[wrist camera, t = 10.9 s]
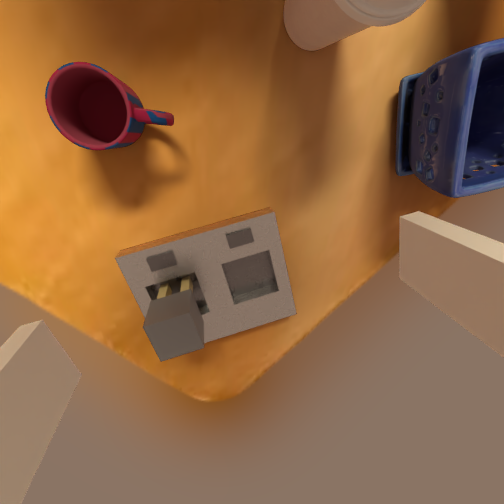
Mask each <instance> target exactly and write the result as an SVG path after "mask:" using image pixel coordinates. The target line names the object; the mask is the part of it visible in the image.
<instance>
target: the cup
mask: <svg viewBox="0 0 504 504" xmlns="http://www.w3.org/2000/svg"><path fill="white" fill-rule="evenodd" d="M45 99H46V106H47V111H48V113H49V116H50V118H51V120H52V122H53V123H54V125H55V127H56V128H57V129H58V130H59V132H60V133H61V134H62V135H63V136H65V137H66V138H67V139H68V140H70V141H71V142H72V143H74V144H76V145H78V146H80V147H83V148H86V149H91V150H106V149H113V148H120V147H125V146H128V145H131V144H132V143H134V142H135V141H136V140H137V139H138V138H139V137H140V135H141V134H142V132H143V129H144V125H145V124H156V125H167V126H172V125H173V124H174V116H173V115H172V114H171V113H167V112H162V111H155V110H148V109H143V105H142V103H141V101H140V99H139V98H138V96H137V95H136V93H135V92H134V91H133V90H132V89H131V88H130V87H129V86H127V85H126V84H125V83H123V82H122V81H120V80H119V79H117V78H116V77H115V76H113V75H112V74H110V73H109V72H107V71H106V70H104V69H103V68H101V67H99V66H96V65H94V64H90V63H86V62H74V63H69V64H66V65H63V66H62V67H60V68H59V69H57V70H56V71H55V72H54V73H53V74H52V76H51V78H50V79H49V81H48V84H47V87H46V94H45Z"/></svg>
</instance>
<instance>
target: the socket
mask: <svg viewBox="0 0 504 504" xmlns="http://www.w3.org/2000/svg"><path fill="white" fill-rule="evenodd" d="M115 259H116V261H117V263H118V265H119V267H120V269H121V271H122V273H123V275H124V277H125V279H126V281H127V283H128V285H129V287H130V289H131V291H132V293H133V295H134V297H135V299H136V301H137V303H138V305H139V307H140V309H141V311H142V313H143V315H144V317H145V318H146V315H147V311H148V308H149V304H150V301H152V300H156V299H157V296H158V292H159V288H160V285H163V284H166V283H169V286H170V288H171V290H172V294H175V293H179V292H180V290H181V282H182V279H183V278H186V277H189V276H190V278H191V281H192V284H193V295H194V298H195V300H196V303H197V306H198V308H199V311H200V313H201V316H202V318H203V321H204V343H206V342H210V341H213V340H216V339H219V338H222V337H225V336H229V335H232V334H235V333H238V332H241V331H244V330H247V329H251V328H254V327H257V326H260V325H263V324H266V323H269V322H273V321H276V320H279V319H282V318H285V317H288V316H291V315H295V314H296V309H295V304H294V300H293V295H292V290H291V286H290V281H289V277H288V272H287V267H286V263H285V258H284V253H283V249H282V244H281V240H280V235H279V230H278V226H277V221H276V216H275V212H274V211H273V210H272V209H271V208H270V207H269V208H265V209H262V210H258V211H255V212H251V213H248V214H245V215H241V216H238V217H234V218H231V219H227V220H224V221H220V222H217V223H213V224H210V225H207V226H203V227H200V228H196V229H193V230H189V231H186V232H182V233H179V234H176V235H172V236H169V237H165V238H162V239H158V240H155V241H151V242H148V243H145V244H141V245H138V246H134V247H131V248H127V249H124V250H120V252H119V253H118V255H117V256H116V258H115ZM172 294H171V295H172Z"/></svg>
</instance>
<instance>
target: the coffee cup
mask: <svg viewBox="0 0 504 504" xmlns="http://www.w3.org/2000/svg"><path fill="white" fill-rule="evenodd" d="M425 1H426V0H285V4H284V13H283V15H284V24H285V28H286V31H287V33H288V35H289V37H290V38H291V40H292V41H293V42H294V43H295V44H296V45H297V46H298V47H300V48H302V49H304V50H308V51H316V50H319V49H322V48H324V47H326V46H329V45H331V44H333V43H335V42H337V41H339V40H342V39H344V38H346V37H348V36H350V35H353V34H355V33H357V32H359V31H362V30H364V29H366V28H368V27H370V26H387V25H392V24H395V23H397V22H400V21H402V20H404V19H405V18H407V17H409V16H410V15H411V14H413V13H414V12H415V11H416V10H417V9H419V8H420V7H421V6H422V5H423V3H424V2H425Z"/></svg>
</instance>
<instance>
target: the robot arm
mask: <svg viewBox="0 0 504 504" xmlns="http://www.w3.org/2000/svg"><path fill="white" fill-rule="evenodd" d="M399 279H400V280H402V281H403V282H404V283H406V284H407V285H408V286H410V287H411V288H412V289H413V290H415V291H416V292H418V293H419V294H420V295H421V296H423V297H424V298H425V299H427V300H428V301H429V302H431V303H432V304H433V305H435V306H436V307H437V308H439V309H440V310H441V311H443V312H444V313H445V314H447V315H448V316H449V317H450V318H452V319H453V320H454V321H456V322H457V323H458V324H460V325H461V326H462V327H464V328H465V329H466V330H468V331H469V332H470V333H472V334H473V335H474V336H476V337H477V338H478V339H480V340H481V341H482V342H483V343H485V344H486V345H488V346H489V347H490V348H491V349H493V350H494V351H496V352H497V353H498V354H499V355H501V356H502V357H503V358H504V243H501V242H498V241H496V240H493V239H490V238H488V237H485V236H483V235H480V234H477V233H475V232H472V231H469V230H467V229H464V228H461V227H459V226H456V225H454V224H451V223H449V222H446V221H443V220H441V219H438V218H436V217H433V216H430V215H428V214H425V213H422V212H420V211H417V212H414V213H410V214H407V215H403V216H400V231H399ZM81 375H82V374H81V373H80V371H79V370H78V369H77V367H76V366H75V364H74V363H73V362H72V360H71V359H70V357H69V356H68V355H67V353H66V352H65V350H64V349H63V347H62V346H61V345H60V343H59V342H58V340H57V339H56V338H55V336H54V335H53V333H52V332H51V331H50V329H49V328H48V326H47V325H46V324H45V322H44V321H43V320H39V321H36V322H32V323H29V324H25V325H22V326H20V327H19V328H18V329H17V330H16V331H15V332H14V333H13V334H12V335H11V336H10V338H9V339H8V340H7V341H6V342H5V343H4V345H2V346H1V348H0V504H21V503H22V501H23V498H24V496H25V494H26V492H27V490H28V488H29V486H30V484H31V481H32V479H33V477H34V475H35V473H36V471H37V469H38V467H39V465H40V462H41V460H42V458H43V456H44V454H45V452H46V450H47V448H48V445H49V443H50V441H51V439H52V437H53V435H54V433H55V431H56V429H57V426H58V424H59V422H60V420H61V418H62V416H63V414H64V411H65V409H66V407H67V405H68V403H69V401H70V399H71V397H72V394H73V392H74V390H75V388H76V386H77V384H78V381H79V380H80V378H81Z"/></svg>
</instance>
